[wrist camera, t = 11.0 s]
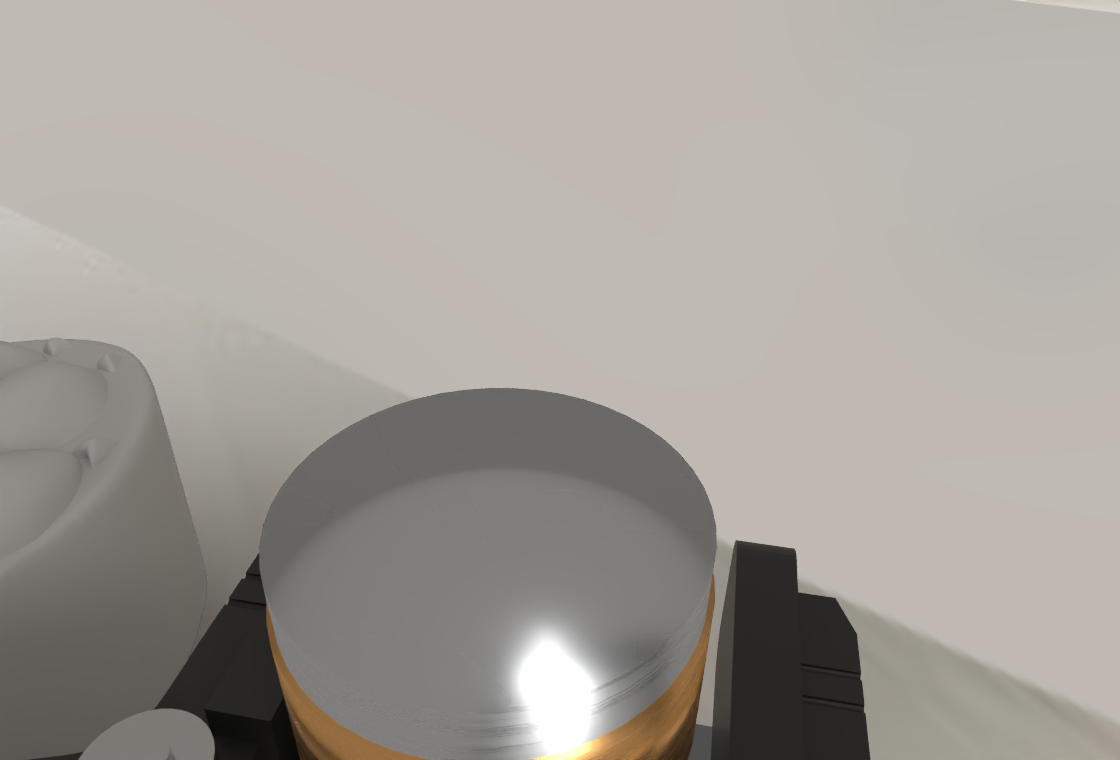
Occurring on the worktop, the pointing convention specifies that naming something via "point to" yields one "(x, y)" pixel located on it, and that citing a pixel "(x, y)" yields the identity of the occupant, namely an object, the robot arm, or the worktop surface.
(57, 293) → the worktop surface
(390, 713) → the silver copper-banded cylinder
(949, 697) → the worktop surface
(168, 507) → the lumpy-topped squat cylinder
